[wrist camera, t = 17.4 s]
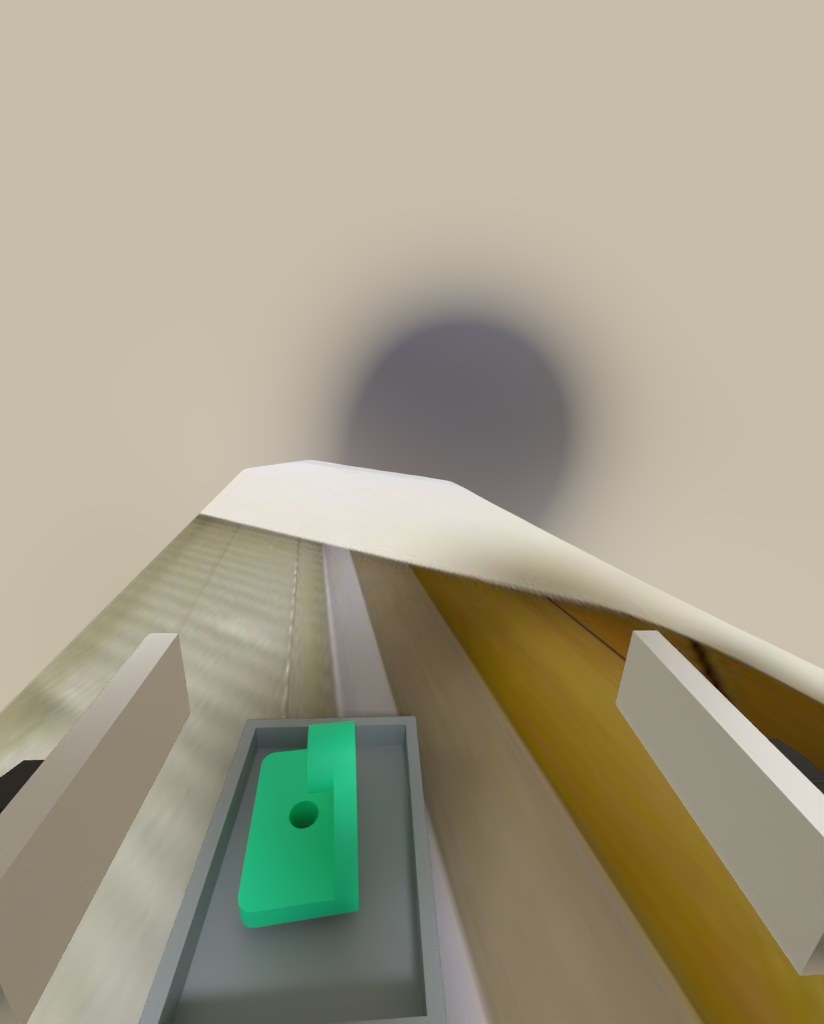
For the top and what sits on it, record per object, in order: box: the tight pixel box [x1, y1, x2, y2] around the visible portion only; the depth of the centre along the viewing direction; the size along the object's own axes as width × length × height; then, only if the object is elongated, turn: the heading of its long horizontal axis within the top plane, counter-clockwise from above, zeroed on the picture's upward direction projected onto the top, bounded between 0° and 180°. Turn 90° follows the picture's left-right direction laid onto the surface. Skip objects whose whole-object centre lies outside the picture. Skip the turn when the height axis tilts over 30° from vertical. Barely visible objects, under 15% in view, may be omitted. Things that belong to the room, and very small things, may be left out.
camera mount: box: [238, 721, 359, 928], centre depth 33 cm, size 12×8×10 cm, turn 9°
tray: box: [138, 716, 447, 1024], centre depth 33 cm, size 16×22×4 cm
